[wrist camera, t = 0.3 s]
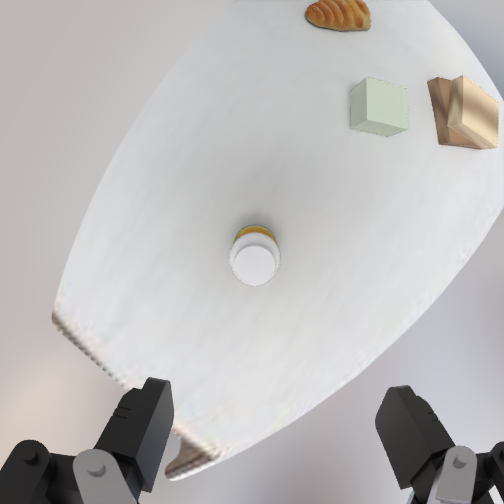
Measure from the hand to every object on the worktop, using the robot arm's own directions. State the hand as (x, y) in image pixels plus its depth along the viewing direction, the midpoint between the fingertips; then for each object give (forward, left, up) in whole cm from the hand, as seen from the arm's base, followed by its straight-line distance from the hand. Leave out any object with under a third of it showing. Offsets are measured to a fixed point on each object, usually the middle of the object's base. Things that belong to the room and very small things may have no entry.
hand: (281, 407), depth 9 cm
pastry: (-35, +9, -28) cm, 46 cm away
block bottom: (-23, +29, -28) cm, 47 cm away
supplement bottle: (0, -1, -28) cm, 28 cm away
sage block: (-19, +13, -28) cm, 36 cm away
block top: (-23, +29, -25) cm, 44 cm away
